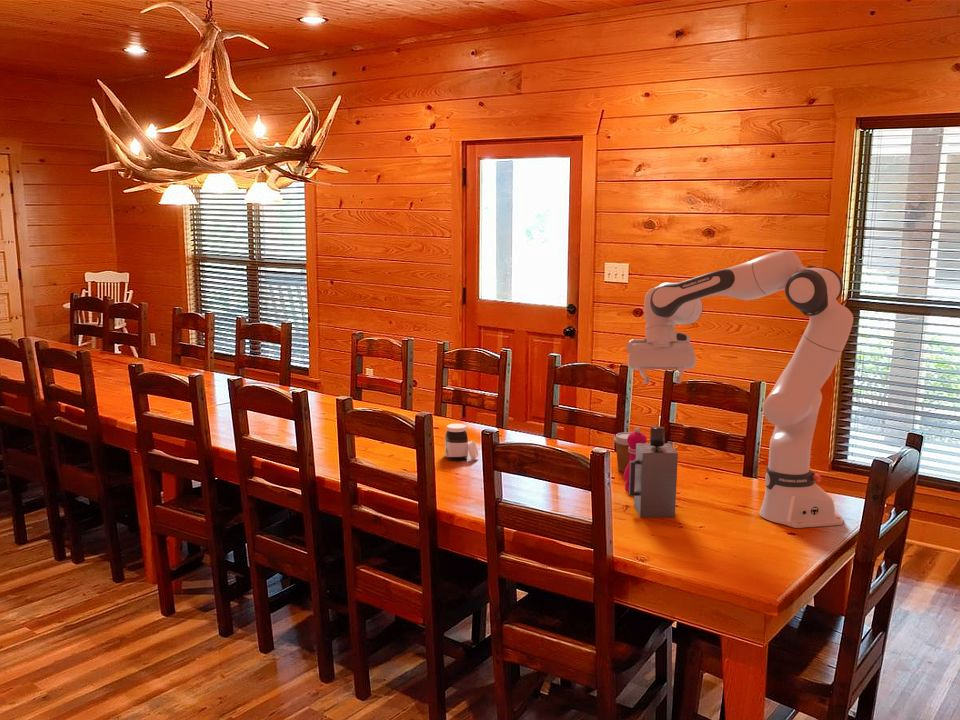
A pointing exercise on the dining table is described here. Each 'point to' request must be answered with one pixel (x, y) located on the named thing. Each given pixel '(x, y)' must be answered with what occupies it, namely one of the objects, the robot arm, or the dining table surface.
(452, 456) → the spread jar
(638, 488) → the tall grey box
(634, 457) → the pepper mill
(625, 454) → the disposable coffee cup
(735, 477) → the dining table surface
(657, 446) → the press plunger
